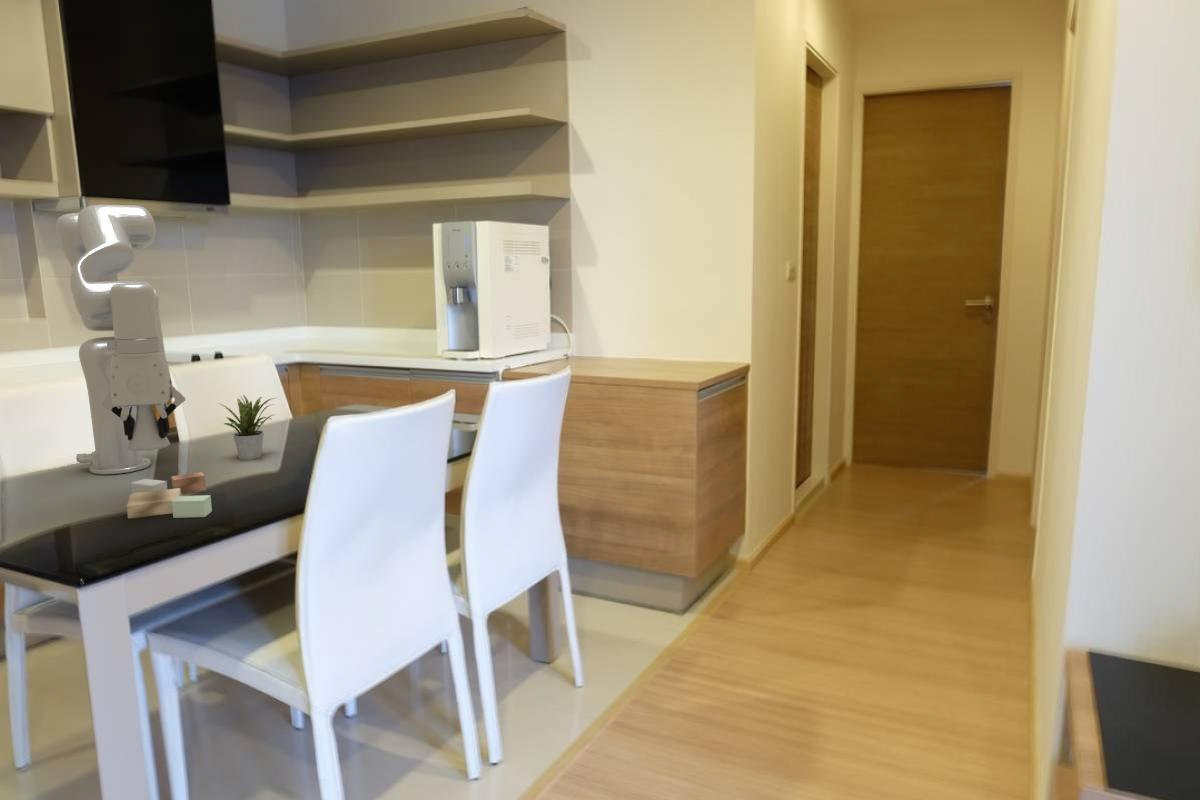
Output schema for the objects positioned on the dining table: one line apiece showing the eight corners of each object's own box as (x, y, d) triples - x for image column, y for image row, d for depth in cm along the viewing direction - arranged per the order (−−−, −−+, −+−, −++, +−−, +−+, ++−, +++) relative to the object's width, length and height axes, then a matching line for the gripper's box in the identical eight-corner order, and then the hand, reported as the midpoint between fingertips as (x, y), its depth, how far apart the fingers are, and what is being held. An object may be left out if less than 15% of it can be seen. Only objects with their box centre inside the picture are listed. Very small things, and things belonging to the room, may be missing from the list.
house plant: (297, 453, 207) (293, 391, 204) (255, 466, 194) (249, 400, 191) (256, 448, 212) (251, 387, 209) (212, 460, 200) (206, 396, 197)
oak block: (128, 520, 157) (126, 506, 156) (132, 507, 165) (130, 493, 164) (180, 514, 161) (178, 499, 160) (181, 501, 169) (180, 488, 168)
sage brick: (173, 518, 157) (171, 501, 156) (181, 512, 161) (179, 496, 160) (205, 517, 158) (203, 500, 157) (212, 511, 161) (210, 495, 160)
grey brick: (132, 499, 170) (130, 483, 169) (146, 494, 173) (145, 478, 172) (154, 501, 168) (152, 485, 167) (168, 496, 171) (166, 481, 170)
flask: (151, 453, 156) (145, 402, 154) (119, 451, 157) (113, 401, 156) (177, 444, 163) (172, 396, 161) (146, 443, 164) (141, 395, 163)
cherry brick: (175, 495, 172) (173, 480, 171) (172, 491, 175) (171, 476, 174) (206, 490, 175) (204, 475, 175) (203, 487, 178) (201, 471, 177)
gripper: (82, 351, 151) (93, 445, 154) (181, 347, 155) (191, 439, 159) (95, 346, 158) (105, 436, 161) (190, 343, 162) (198, 431, 166)
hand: (148, 436), depth 160 cm, fingers closed on flask, 5 cm apart
